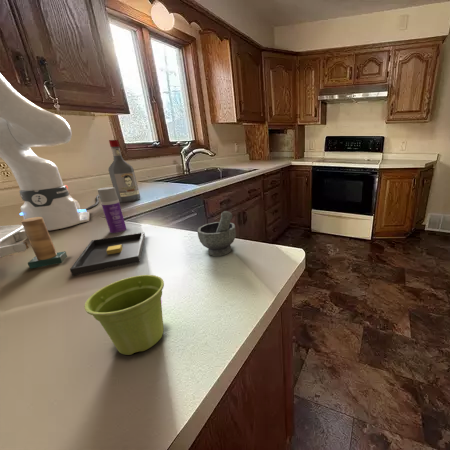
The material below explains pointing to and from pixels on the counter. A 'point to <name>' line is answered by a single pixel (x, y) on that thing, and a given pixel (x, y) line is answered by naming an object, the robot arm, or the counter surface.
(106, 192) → the container
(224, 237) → the mortar and pestle
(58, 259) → the brush
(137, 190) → the liquor
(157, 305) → the plant pot
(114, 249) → the block
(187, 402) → the counter surface
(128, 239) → the pan
